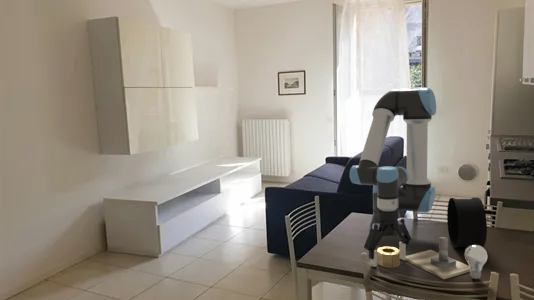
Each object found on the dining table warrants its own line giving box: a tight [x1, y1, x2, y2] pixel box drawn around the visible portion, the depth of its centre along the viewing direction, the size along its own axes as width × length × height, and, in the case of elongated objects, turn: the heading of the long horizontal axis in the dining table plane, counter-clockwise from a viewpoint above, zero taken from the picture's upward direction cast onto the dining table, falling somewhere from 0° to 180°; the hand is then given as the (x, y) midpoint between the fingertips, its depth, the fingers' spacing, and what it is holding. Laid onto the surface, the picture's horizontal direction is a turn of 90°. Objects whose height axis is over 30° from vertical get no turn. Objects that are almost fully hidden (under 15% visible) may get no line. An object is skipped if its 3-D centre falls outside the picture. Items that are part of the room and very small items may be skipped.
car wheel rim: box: [446, 197, 488, 248], centre depth 170 cm, size 20×10×20 cm, turn 168°
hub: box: [376, 246, 401, 269], centre depth 159 cm, size 8×8×5 cm
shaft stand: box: [405, 236, 470, 280], centre depth 155 cm, size 20×14×11 cm
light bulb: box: [464, 245, 488, 280], centre depth 142 cm, size 7×7×12 cm
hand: (388, 263), depth 159 cm, fingers open, 13 cm apart
